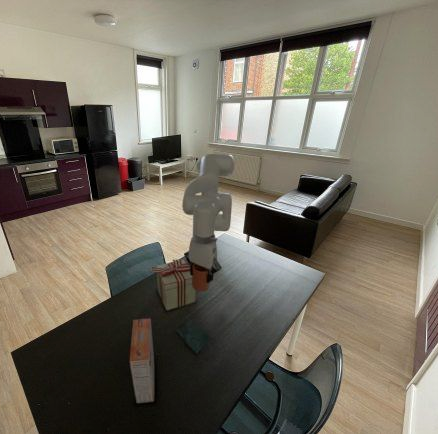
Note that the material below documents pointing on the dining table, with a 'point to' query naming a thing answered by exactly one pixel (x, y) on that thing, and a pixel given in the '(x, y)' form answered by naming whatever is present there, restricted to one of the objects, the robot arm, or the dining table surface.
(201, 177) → the robot arm
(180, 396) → the dining table surface
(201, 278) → the cup
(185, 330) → the terrain model
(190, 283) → the gift box
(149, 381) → the cracker box
